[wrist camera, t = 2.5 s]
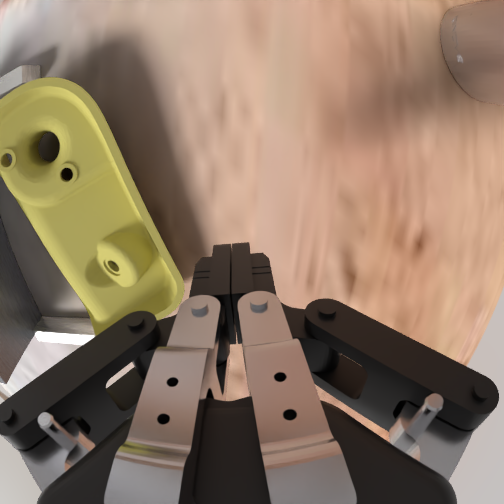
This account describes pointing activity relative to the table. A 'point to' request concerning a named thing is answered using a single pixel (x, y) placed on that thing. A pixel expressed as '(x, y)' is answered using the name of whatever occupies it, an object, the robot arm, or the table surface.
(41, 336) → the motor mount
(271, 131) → the table surface
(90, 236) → the plastic component
